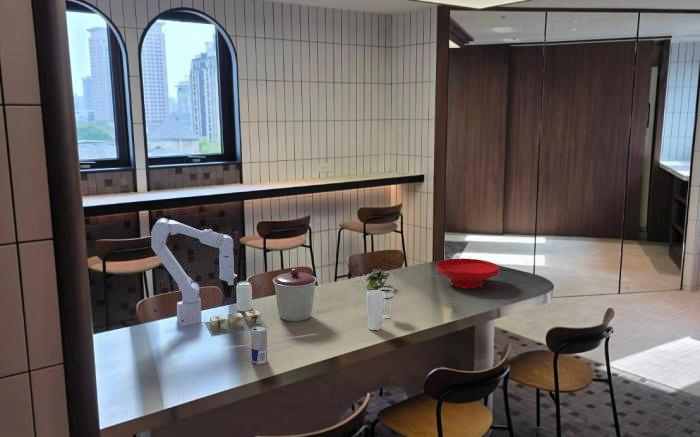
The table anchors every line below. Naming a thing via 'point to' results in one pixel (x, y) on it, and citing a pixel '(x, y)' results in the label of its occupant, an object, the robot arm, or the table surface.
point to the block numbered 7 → (252, 317)
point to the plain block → (235, 320)
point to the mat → (232, 330)
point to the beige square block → (217, 322)
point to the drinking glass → (374, 308)
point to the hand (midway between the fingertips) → (227, 297)
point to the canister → (294, 295)
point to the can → (244, 296)
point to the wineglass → (387, 297)
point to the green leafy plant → (377, 278)
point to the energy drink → (259, 345)
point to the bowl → (467, 271)
